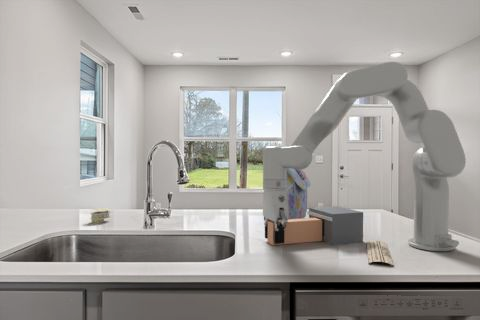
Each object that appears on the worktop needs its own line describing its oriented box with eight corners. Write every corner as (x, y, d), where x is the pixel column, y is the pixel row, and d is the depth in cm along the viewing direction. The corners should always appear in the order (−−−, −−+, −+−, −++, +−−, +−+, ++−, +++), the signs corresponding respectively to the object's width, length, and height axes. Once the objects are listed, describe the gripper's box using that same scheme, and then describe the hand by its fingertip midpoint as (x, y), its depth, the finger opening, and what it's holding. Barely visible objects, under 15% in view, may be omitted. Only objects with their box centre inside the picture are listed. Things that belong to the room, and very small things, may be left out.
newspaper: (366, 245, 113) (366, 239, 113) (389, 247, 111) (390, 241, 111) (368, 267, 91) (368, 260, 91) (398, 270, 89) (398, 263, 89)
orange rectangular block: (322, 240, 115) (322, 219, 115) (272, 245, 109) (272, 223, 109) (315, 237, 119) (315, 217, 119) (267, 242, 113) (267, 220, 113)
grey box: (362, 241, 115) (363, 212, 115) (330, 244, 110) (330, 214, 110) (337, 232, 128) (337, 206, 128) (307, 235, 124) (307, 207, 123)
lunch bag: (302, 228, 135) (302, 160, 135) (261, 224, 142) (261, 159, 141) (312, 218, 156) (313, 159, 156) (276, 215, 163) (276, 159, 162)
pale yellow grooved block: (97, 225, 140) (97, 212, 140) (83, 223, 144) (83, 210, 144) (117, 221, 148) (117, 208, 148) (103, 219, 153) (103, 206, 153)
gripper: (298, 186, 104) (298, 246, 104) (273, 182, 120) (273, 233, 121) (276, 187, 102) (275, 248, 102) (253, 182, 118) (253, 235, 118)
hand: (274, 240), depth 111 cm, fingers open, 6 cm apart
